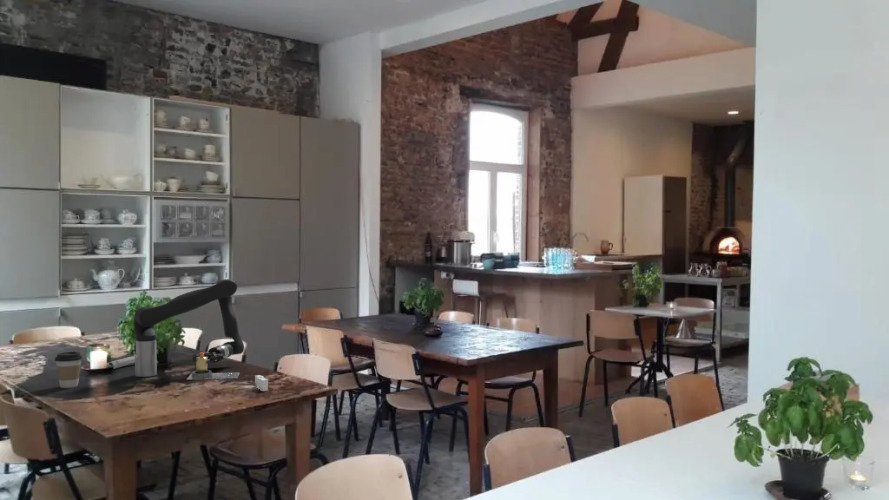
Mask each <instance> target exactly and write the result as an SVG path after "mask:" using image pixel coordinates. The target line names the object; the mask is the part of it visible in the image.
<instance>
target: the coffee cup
mask: <svg viewBox="0 0 889 500" xmlns="http://www.w3.org/2000/svg"><path fill="white" fill-rule="evenodd" d="M82 360H83V355H81V352H79V351H64V352H60V353H57V354H56V356H55V357H54V361H55V364H56V368H57V369H56V370H57V377H58V383H59V386H60V388H61V389H71V388H76V387H78V386H79V379H80V375H81V374H80V373H81V364H82Z"/></svg>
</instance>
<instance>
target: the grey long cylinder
mask: <svg viewBox="0 0 889 500" xmlns="http://www.w3.org/2000/svg"><path fill="white" fill-rule="evenodd" d="M134 356H135V355H132V356H128V357H124V358H120V359H114V360H113V361H110V362H108V364H109V365H111V366H113V369H112V370H115V369H119V368H122V367H125V366H127V365H131V364H133V363H134V364H135V357H134Z"/></svg>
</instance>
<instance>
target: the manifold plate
mask: <svg viewBox="0 0 889 500" xmlns="http://www.w3.org/2000/svg"><path fill="white" fill-rule="evenodd" d="M240 373H241V372H239V371H238V372H236V371H235V372H213V370H209V369H207V373H196V370H194V371H192V372H191V373H190V375H188V377H187V378H186V380H213V379H215V380H217V379H220V380H221V379H238V378H239V375H240Z"/></svg>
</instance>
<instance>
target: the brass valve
mask: <svg viewBox="0 0 889 500" xmlns="http://www.w3.org/2000/svg"><path fill="white" fill-rule="evenodd" d="M198 353H199V355H200V357H196V361H195V363H196V365H195V366H196V370H195V371H196V373H207V370H208V360H207V357H206V356H204V354H205V353H206V351H202V352H201V351H200V352H198Z"/></svg>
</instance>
